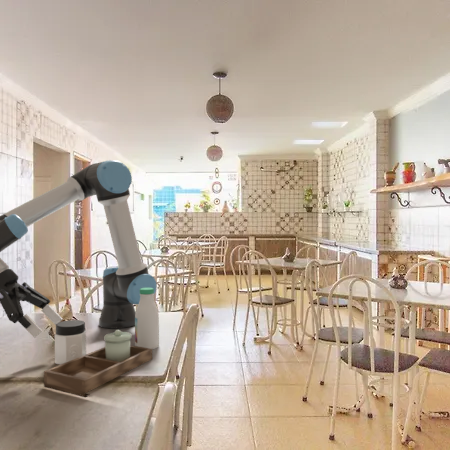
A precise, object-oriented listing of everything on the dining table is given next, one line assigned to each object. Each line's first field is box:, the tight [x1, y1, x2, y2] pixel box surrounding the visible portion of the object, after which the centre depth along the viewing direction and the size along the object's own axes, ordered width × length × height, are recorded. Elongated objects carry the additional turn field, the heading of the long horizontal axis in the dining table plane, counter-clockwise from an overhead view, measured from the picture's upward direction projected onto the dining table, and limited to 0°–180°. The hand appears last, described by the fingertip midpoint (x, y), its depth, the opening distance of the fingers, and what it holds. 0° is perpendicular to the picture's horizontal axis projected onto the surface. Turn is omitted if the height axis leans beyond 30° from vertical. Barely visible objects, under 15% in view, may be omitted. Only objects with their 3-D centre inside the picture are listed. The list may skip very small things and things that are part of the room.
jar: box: [54, 319, 87, 365], centre depth 125 cm, size 9×8×12 cm
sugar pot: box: [103, 329, 132, 362], centre depth 123 cm, size 8×8×10 cm
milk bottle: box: [134, 288, 160, 350], centre depth 138 cm, size 8×8×20 cm
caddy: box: [43, 344, 153, 398], centre depth 117 cm, size 27×14×4 cm, turn 154°
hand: (49, 328), depth 124 cm, fingers open, 13 cm apart
